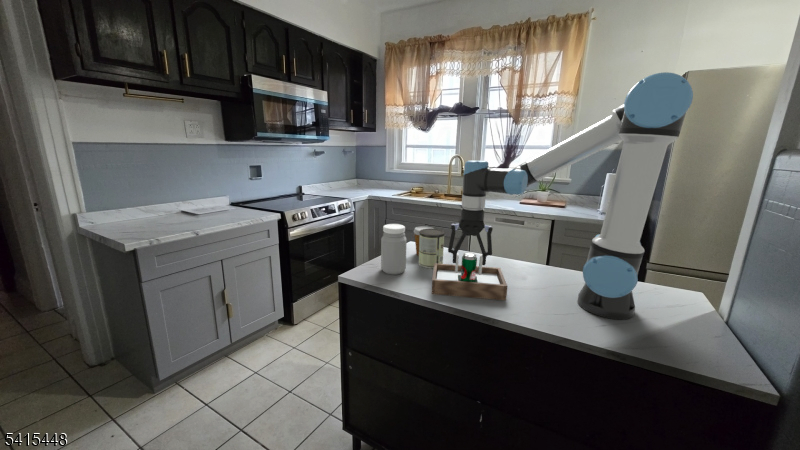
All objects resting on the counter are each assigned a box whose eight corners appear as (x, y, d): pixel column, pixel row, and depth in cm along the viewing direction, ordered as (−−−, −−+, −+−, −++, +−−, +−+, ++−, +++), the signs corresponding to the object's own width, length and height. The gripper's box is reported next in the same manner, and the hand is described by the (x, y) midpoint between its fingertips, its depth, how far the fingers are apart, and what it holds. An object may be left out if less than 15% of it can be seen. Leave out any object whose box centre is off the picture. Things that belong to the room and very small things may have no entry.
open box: (498, 280, 120) (500, 267, 119) (505, 300, 105) (507, 286, 103) (433, 275, 123) (434, 263, 122) (431, 294, 108) (432, 280, 107)
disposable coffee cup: (438, 255, 146) (439, 230, 143) (420, 259, 141) (421, 232, 138) (425, 249, 153) (427, 225, 151) (408, 252, 149) (409, 227, 146)
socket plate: (495, 281, 119) (496, 274, 118) (501, 298, 106) (502, 289, 105) (437, 277, 122) (437, 269, 121) (435, 292, 109) (436, 284, 108)
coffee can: (418, 259, 141) (419, 227, 137) (442, 260, 140) (444, 229, 136) (417, 268, 131) (418, 234, 127) (443, 269, 130) (445, 235, 126)
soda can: (471, 291, 111) (474, 258, 108) (457, 287, 113) (460, 255, 110) (476, 286, 115) (479, 254, 112) (462, 282, 117) (465, 251, 114)
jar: (388, 264, 134) (389, 222, 129) (409, 268, 130) (411, 225, 125) (376, 272, 125) (376, 227, 121) (398, 277, 121) (399, 230, 117)
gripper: (502, 207, 109) (496, 270, 115) (442, 204, 112) (439, 266, 118) (506, 211, 102) (499, 279, 108) (441, 208, 105) (438, 274, 110)
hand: (468, 272), depth 113 cm, fingers open, 7 cm apart
